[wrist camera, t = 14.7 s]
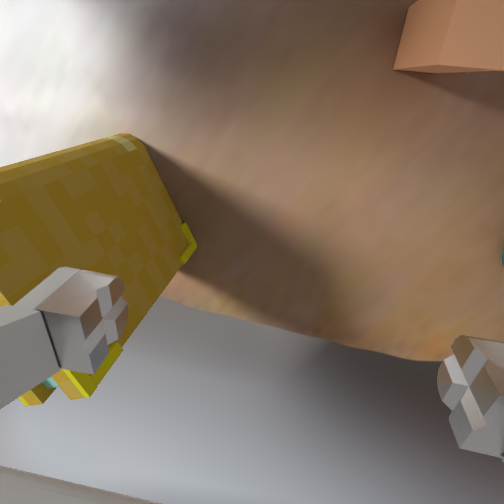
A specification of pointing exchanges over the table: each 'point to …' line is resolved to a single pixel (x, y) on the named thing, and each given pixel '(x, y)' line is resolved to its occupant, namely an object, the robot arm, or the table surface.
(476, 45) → the block
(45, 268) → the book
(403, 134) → the table surface
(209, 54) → the table surface
